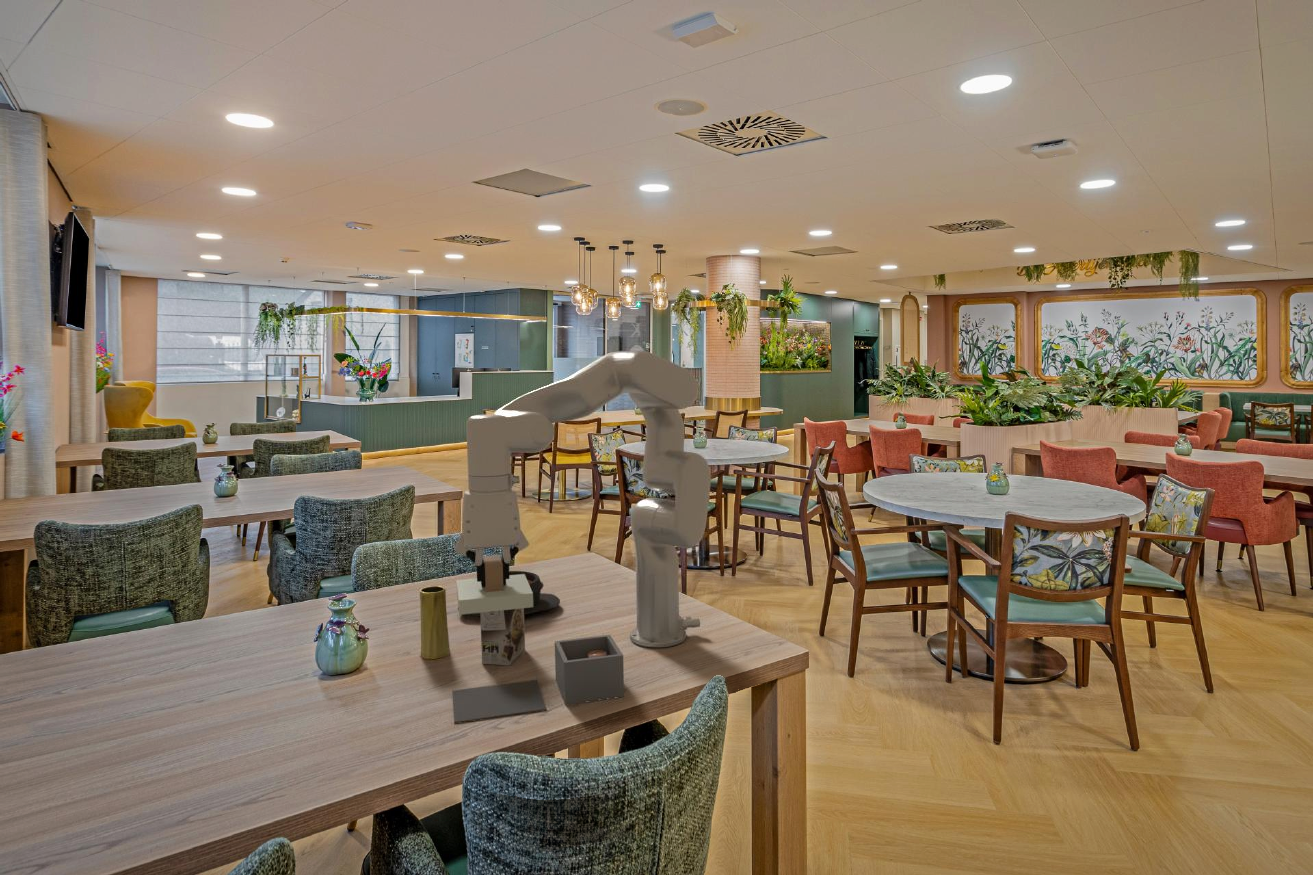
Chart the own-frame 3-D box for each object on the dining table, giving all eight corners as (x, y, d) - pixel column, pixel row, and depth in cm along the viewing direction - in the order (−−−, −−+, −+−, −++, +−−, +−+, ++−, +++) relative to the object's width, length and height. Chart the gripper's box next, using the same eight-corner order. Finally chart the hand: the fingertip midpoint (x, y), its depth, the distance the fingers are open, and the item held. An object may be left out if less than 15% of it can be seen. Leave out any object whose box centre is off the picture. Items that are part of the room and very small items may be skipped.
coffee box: (510, 666, 156) (507, 589, 154) (480, 664, 157) (477, 588, 155) (526, 649, 165) (524, 576, 163) (498, 647, 166) (496, 575, 164)
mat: (537, 681, 148) (537, 679, 148) (546, 710, 136) (546, 708, 136) (452, 692, 144) (452, 690, 144) (454, 723, 131) (454, 722, 131)
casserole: (455, 628, 178) (454, 593, 177) (460, 603, 196) (459, 571, 195) (562, 620, 183) (561, 586, 182) (558, 596, 201) (557, 565, 200)
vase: (434, 662, 158) (431, 595, 157) (414, 656, 162) (411, 591, 160) (456, 652, 164) (453, 587, 162) (436, 646, 167) (433, 583, 165)
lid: (524, 586, 145) (523, 548, 145) (533, 607, 133) (532, 565, 133) (456, 593, 142) (455, 553, 141) (459, 614, 130) (457, 571, 129)
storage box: (610, 673, 151) (609, 634, 151) (624, 696, 141) (623, 655, 140) (555, 680, 148) (554, 641, 147) (565, 705, 138) (564, 662, 137)
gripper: (533, 478, 141) (536, 574, 143) (442, 483, 137) (446, 582, 139) (538, 484, 134) (541, 585, 136) (442, 490, 130) (447, 594, 132)
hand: (493, 583), depth 137 cm, fingers closed on lid, 3 cm apart
